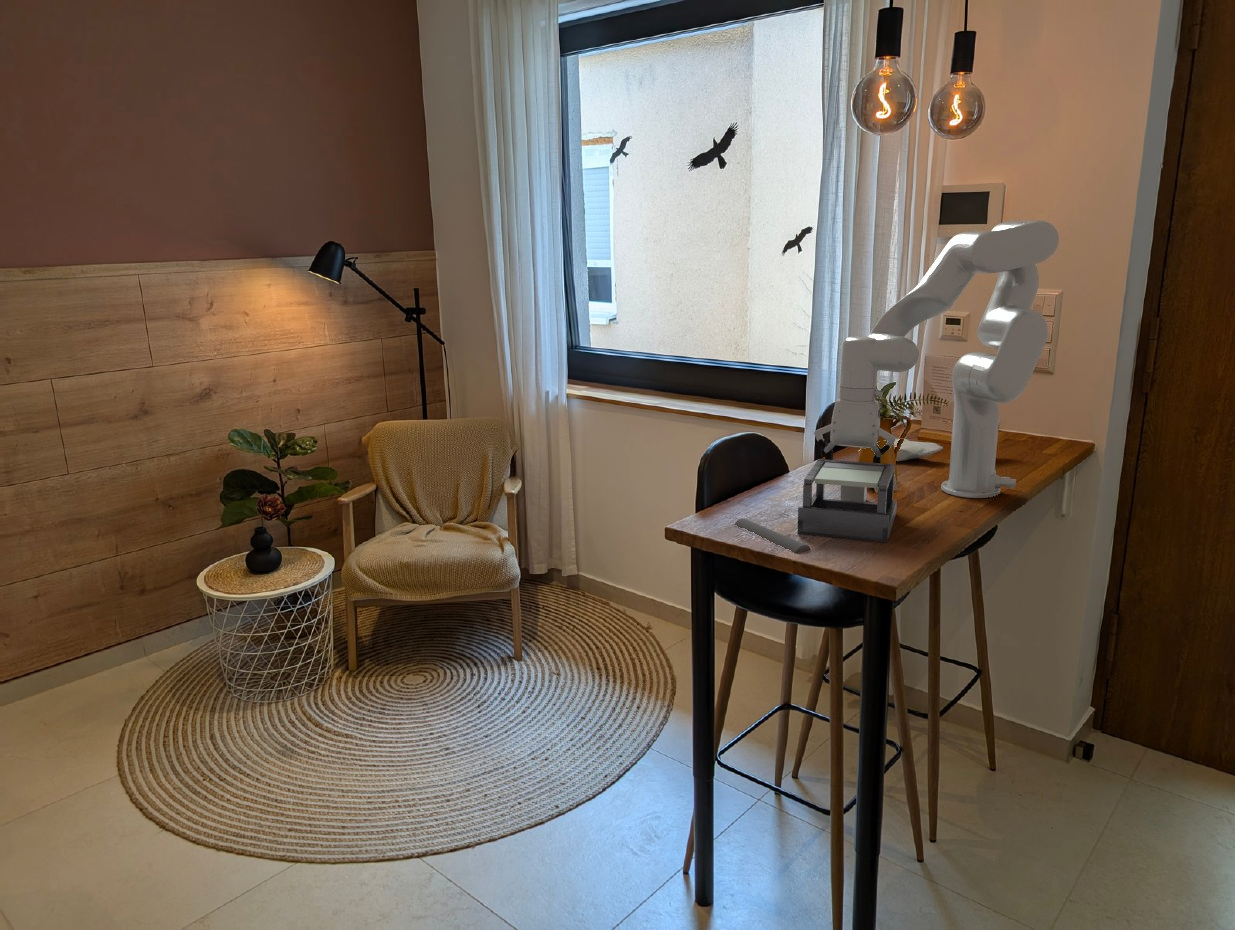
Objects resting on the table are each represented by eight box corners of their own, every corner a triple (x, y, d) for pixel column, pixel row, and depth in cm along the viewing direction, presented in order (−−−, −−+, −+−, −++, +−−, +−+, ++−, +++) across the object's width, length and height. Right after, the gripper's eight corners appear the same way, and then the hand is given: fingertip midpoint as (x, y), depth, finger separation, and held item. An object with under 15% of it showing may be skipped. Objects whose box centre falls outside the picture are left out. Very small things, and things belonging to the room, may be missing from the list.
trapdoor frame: (896, 513, 188) (898, 463, 186) (887, 542, 171) (890, 488, 169) (813, 506, 195) (815, 458, 192) (797, 533, 178) (798, 480, 175)
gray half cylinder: (794, 556, 167) (795, 547, 167) (732, 528, 184) (732, 520, 183) (812, 552, 169) (812, 543, 169) (749, 524, 186) (749, 516, 185)
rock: (909, 473, 220) (947, 458, 228) (908, 455, 219) (946, 441, 227) (843, 463, 238) (881, 449, 246) (842, 446, 237) (880, 433, 244)
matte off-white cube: (866, 499, 199) (867, 473, 197) (863, 506, 194) (864, 479, 193) (843, 497, 201) (844, 472, 199) (840, 504, 196) (841, 478, 195)
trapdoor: (883, 477, 184) (884, 466, 184) (876, 495, 172) (877, 483, 172) (825, 473, 189) (825, 462, 188) (814, 490, 177) (814, 478, 176)
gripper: (900, 394, 192) (894, 471, 196) (819, 389, 198) (815, 463, 202) (897, 400, 185) (890, 479, 189) (813, 394, 191) (809, 471, 195)
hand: (851, 471), depth 196 cm, fingers open, 9 cm apart
